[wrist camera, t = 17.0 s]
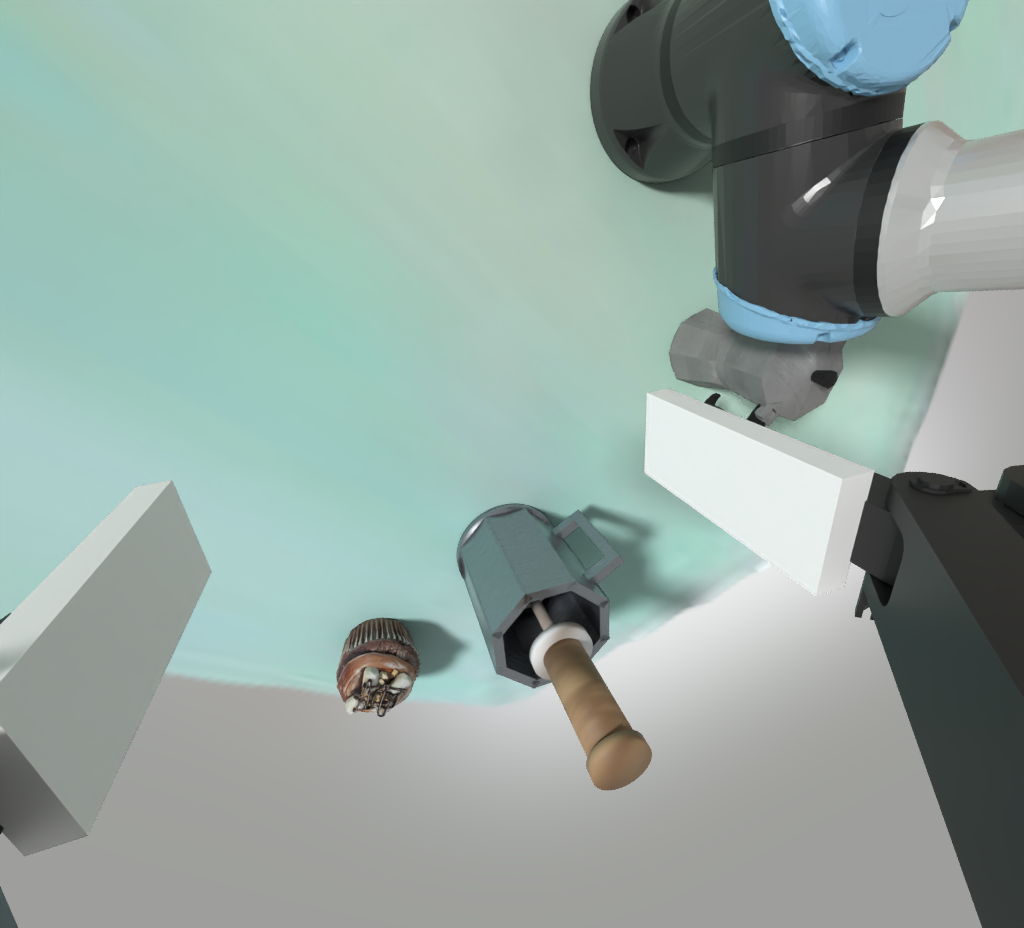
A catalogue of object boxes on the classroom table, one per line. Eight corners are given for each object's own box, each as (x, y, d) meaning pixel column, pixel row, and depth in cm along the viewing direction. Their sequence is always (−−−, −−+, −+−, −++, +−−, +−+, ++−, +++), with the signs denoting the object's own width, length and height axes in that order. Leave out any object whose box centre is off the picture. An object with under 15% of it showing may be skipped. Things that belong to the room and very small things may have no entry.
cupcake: (328, 669, 59) (324, 741, 50) (348, 606, 56) (347, 670, 48) (403, 674, 63) (411, 741, 54) (425, 615, 60) (437, 675, 51)
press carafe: (570, 489, 59) (637, 559, 45) (574, 572, 65) (634, 658, 51) (449, 517, 56) (481, 602, 42) (463, 602, 61) (496, 704, 47)
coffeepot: (718, 276, 54) (867, 282, 39) (756, 330, 59) (904, 355, 43) (629, 380, 56) (737, 426, 40) (672, 425, 60) (785, 483, 45)
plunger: (552, 540, 54) (673, 710, 33) (555, 595, 57) (668, 781, 37) (484, 557, 52) (569, 749, 31) (492, 613, 55) (573, 820, 35)
